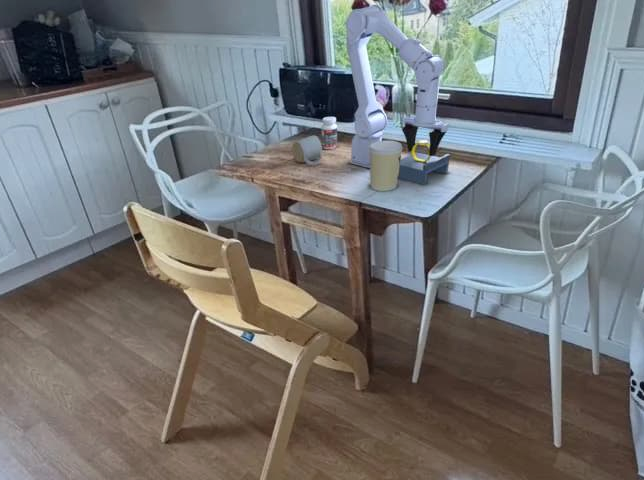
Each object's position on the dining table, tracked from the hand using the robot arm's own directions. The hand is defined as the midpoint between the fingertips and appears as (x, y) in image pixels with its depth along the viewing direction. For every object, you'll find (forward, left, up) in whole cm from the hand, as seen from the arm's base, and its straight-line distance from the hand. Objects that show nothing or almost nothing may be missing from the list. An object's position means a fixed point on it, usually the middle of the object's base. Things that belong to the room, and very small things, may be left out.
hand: (421, 152), depth 156 cm
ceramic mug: (-37, -11, -7) cm, 39 cm away
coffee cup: (-3, -14, -7) cm, 16 cm away
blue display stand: (0, 0, -7) cm, 7 cm away
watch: (0, 0, -3) cm, 3 cm away
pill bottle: (-42, +4, -7) cm, 43 cm away
